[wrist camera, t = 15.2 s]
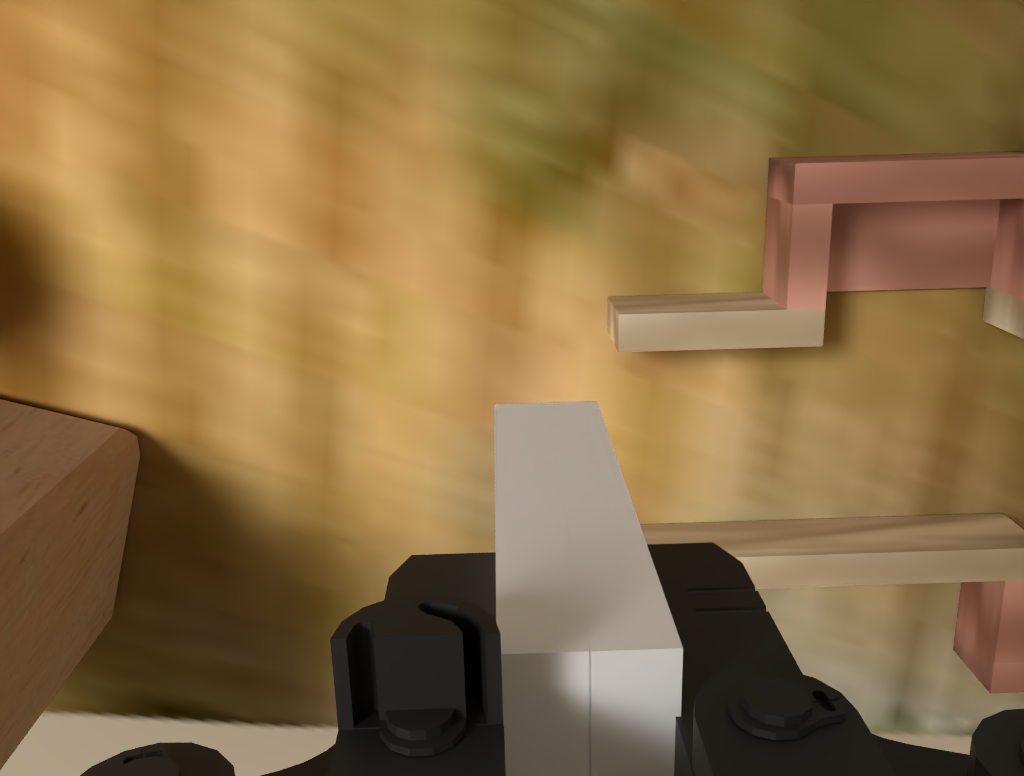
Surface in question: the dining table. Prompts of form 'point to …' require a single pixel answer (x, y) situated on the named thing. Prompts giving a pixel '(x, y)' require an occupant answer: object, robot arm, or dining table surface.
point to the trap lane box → (800, 323)
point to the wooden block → (56, 551)
